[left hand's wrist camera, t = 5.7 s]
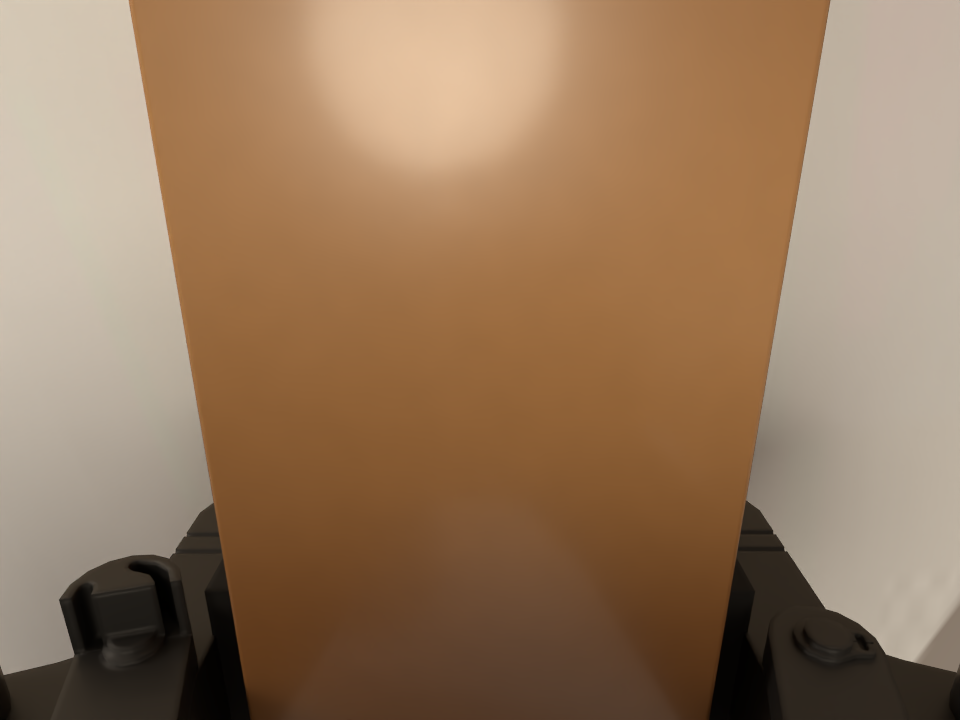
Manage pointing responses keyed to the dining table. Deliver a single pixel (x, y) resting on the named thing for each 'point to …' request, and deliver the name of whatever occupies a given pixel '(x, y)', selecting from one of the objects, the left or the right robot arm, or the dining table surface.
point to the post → (479, 334)
